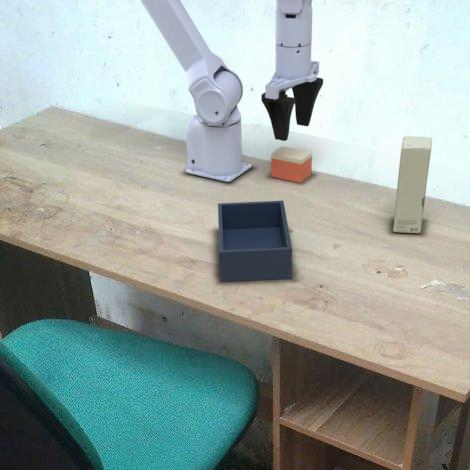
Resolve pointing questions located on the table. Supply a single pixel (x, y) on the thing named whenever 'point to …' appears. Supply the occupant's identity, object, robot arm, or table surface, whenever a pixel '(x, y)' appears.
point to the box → (412, 184)
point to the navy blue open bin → (254, 241)
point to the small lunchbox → (291, 164)
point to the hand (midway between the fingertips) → (292, 132)
